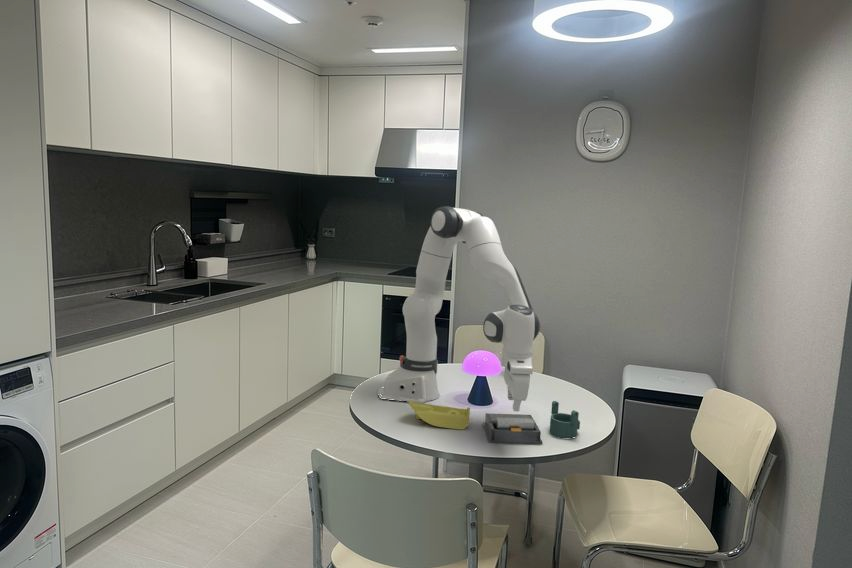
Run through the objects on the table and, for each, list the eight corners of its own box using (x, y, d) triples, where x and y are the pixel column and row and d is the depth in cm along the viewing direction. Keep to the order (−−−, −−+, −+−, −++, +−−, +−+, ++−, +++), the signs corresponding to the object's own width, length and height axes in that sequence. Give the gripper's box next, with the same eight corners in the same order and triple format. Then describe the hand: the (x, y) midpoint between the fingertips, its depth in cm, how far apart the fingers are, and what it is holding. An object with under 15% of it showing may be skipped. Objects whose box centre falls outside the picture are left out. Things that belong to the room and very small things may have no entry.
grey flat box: (488, 442, 164) (489, 428, 163) (482, 424, 178) (483, 411, 177) (542, 444, 164) (543, 430, 164) (532, 426, 178) (533, 413, 178)
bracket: (575, 441, 168) (578, 412, 167) (545, 435, 172) (547, 407, 170) (580, 431, 176) (582, 404, 175) (551, 425, 180) (553, 399, 179)
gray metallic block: (496, 438, 166) (497, 422, 165) (495, 433, 169) (496, 417, 169) (533, 439, 166) (534, 423, 165) (530, 434, 170) (531, 418, 169)
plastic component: (468, 409, 185) (470, 406, 175) (465, 432, 182) (467, 430, 173) (409, 402, 186) (408, 398, 176) (406, 424, 183) (405, 422, 174)
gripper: (501, 350, 175) (498, 392, 176) (511, 369, 154) (507, 416, 156) (521, 351, 175) (517, 394, 177) (534, 370, 154) (530, 418, 156)
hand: (513, 404), depth 166 cm, fingers open, 8 cm apart
